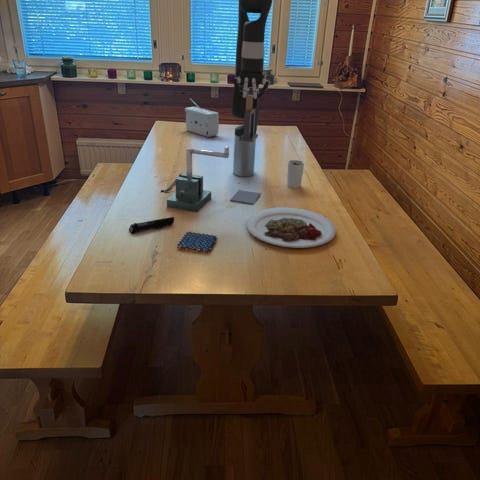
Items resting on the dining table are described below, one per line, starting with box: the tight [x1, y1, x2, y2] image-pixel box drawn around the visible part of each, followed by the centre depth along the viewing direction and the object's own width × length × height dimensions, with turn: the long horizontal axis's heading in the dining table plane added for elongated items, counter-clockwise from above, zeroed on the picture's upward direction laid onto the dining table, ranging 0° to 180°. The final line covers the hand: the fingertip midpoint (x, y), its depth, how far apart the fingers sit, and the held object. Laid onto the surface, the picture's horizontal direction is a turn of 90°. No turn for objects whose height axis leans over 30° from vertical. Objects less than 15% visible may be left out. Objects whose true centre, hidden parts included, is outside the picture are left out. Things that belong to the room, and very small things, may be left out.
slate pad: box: [229, 189, 261, 205], centre depth 176 cm, size 11×9×1 cm
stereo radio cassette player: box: [184, 99, 220, 138], centre depth 254 cm, size 21×8×20 cm, turn 46°
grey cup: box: [286, 159, 305, 189], centre depth 188 cm, size 7×7×10 cm
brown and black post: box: [239, 93, 259, 142], centre depth 162 cm, size 7×5×15 cm
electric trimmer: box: [128, 216, 175, 235], centre depth 149 cm, size 4×15×3 cm, turn 120°
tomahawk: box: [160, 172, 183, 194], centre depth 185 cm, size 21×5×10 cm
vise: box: [166, 146, 230, 213], centre depth 162 cm, size 16×21×23 cm
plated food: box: [245, 206, 337, 249], centre depth 152 cm, size 30×30×3 cm
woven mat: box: [176, 231, 219, 254], centre depth 141 cm, size 10×11×2 cm
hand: (250, 108), depth 160 cm, fingers closed on brown and black post, 2 cm apart
